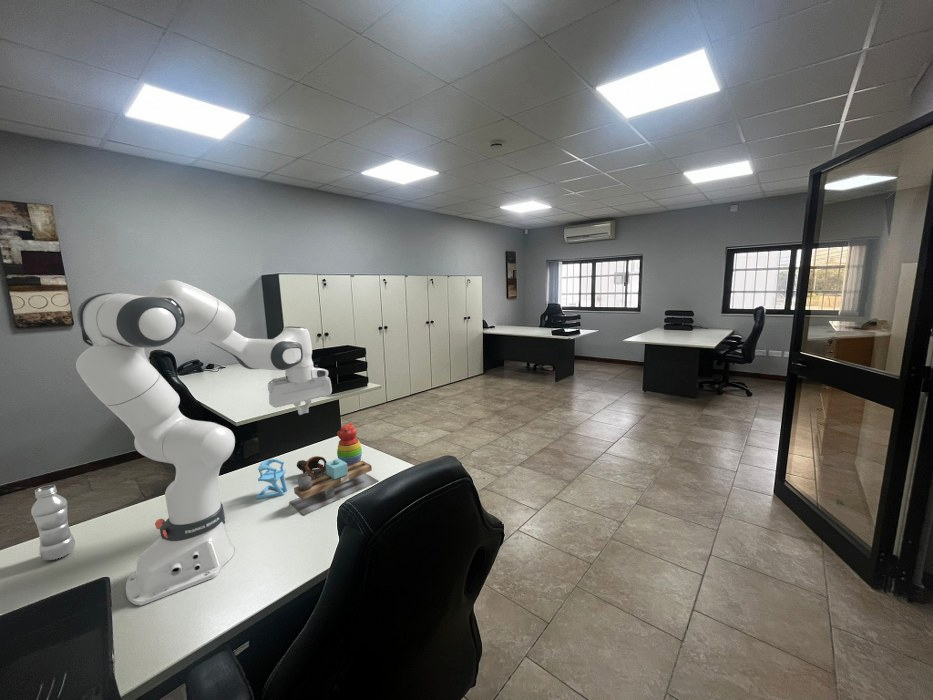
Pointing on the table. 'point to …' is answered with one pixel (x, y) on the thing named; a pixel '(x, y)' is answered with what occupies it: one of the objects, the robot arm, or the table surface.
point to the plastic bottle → (52, 523)
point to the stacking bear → (349, 445)
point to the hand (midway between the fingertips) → (303, 413)
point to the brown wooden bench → (330, 488)
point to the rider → (336, 468)
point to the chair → (272, 478)
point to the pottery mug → (312, 466)
